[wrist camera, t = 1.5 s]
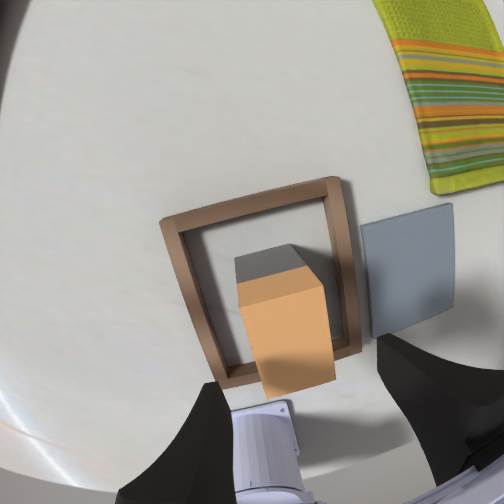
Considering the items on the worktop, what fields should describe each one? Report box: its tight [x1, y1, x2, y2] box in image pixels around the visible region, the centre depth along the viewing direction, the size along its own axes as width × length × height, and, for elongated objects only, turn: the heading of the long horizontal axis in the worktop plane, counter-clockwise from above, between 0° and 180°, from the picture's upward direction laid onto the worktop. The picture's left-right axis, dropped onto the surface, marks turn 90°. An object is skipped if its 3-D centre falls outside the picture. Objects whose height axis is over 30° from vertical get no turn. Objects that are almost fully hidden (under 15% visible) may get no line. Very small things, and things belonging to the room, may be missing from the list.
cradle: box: [159, 176, 362, 390], centre depth 22 cm, size 14×12×2 cm
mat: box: [360, 203, 455, 340], centre depth 23 cm, size 10×9×1 cm
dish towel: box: [373, 0, 504, 195], centre depth 16 cm, size 15×36×3 cm, turn 16°
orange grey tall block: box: [234, 244, 336, 399], centre depth 19 cm, size 6×4×8 cm, turn 14°
